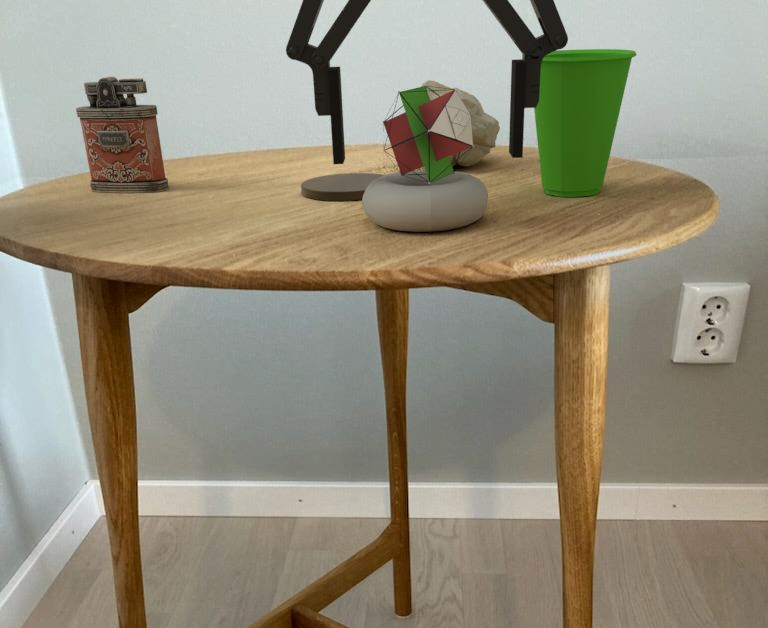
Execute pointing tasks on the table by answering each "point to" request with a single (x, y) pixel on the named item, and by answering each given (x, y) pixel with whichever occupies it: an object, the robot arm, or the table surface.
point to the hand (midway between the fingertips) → (427, 158)
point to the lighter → (121, 138)
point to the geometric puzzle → (429, 132)
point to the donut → (425, 201)
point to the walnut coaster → (338, 186)
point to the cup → (579, 117)
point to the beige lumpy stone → (482, 125)
